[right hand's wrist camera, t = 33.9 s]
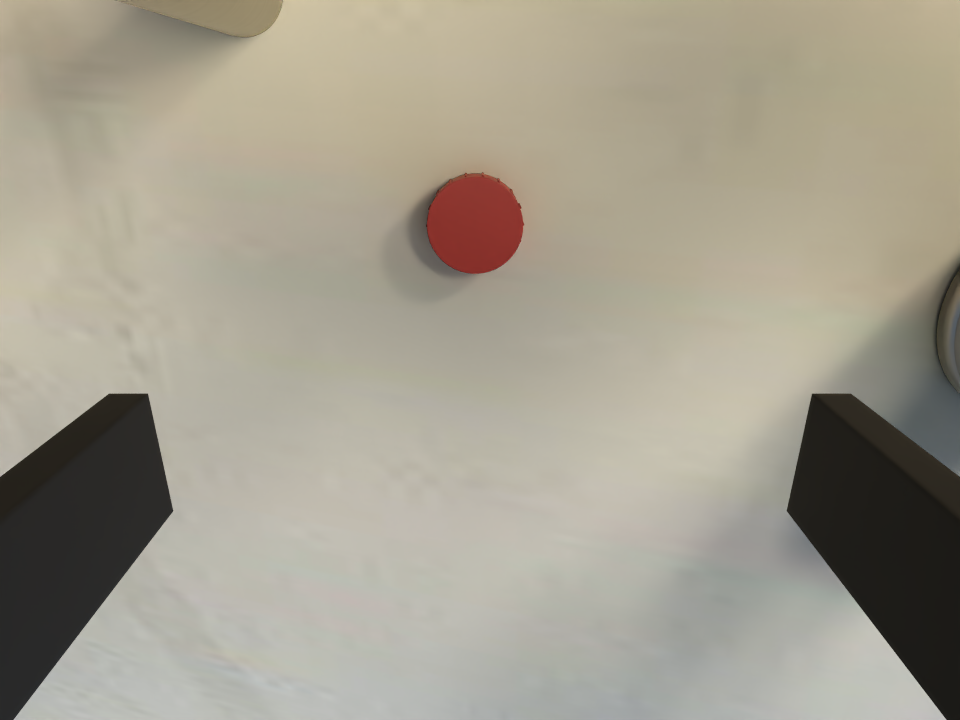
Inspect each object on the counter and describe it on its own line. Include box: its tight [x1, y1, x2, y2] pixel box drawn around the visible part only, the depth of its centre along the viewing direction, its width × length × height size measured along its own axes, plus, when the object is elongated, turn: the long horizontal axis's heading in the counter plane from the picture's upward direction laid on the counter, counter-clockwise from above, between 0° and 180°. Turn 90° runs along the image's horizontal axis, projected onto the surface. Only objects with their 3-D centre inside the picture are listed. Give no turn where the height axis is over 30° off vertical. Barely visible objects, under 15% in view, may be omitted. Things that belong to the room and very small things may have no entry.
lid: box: [426, 173, 524, 274], centre depth 38 cm, size 6×6×2 cm
